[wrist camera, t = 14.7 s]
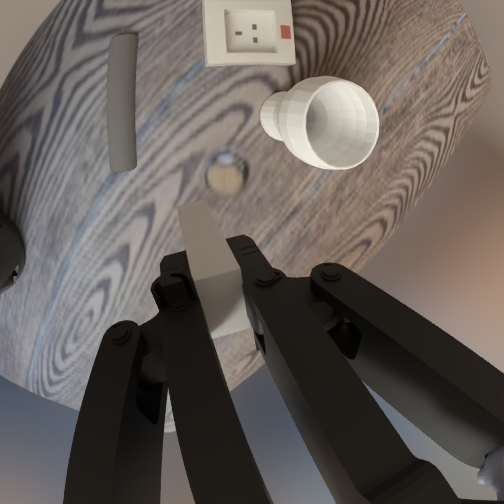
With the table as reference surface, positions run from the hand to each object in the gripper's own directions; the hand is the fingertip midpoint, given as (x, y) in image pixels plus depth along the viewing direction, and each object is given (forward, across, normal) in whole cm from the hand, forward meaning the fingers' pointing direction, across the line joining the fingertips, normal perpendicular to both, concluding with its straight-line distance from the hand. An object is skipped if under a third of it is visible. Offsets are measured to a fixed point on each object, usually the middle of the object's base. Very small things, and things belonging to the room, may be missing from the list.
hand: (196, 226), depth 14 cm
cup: (+25, +17, +3) cm, 30 cm away
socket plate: (+25, +13, +21) cm, 35 cm away
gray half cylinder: (+26, -6, +9) cm, 28 cm away
